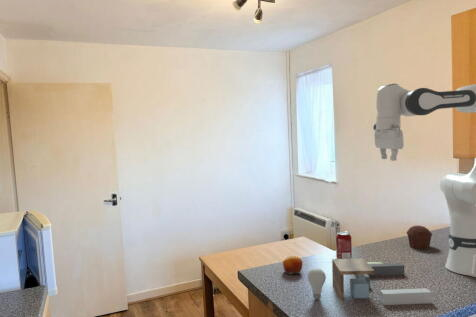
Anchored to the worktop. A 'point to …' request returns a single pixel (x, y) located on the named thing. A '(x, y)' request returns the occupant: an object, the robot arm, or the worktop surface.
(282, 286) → the worktop surface
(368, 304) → the worktop surface
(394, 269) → the hook tool
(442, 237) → the worktop surface
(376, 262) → the pale green stick
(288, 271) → the fruit
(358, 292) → the block
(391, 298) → the grey stick
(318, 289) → the lightbulb
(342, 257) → the soda can
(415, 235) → the muffin
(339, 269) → the shelf
